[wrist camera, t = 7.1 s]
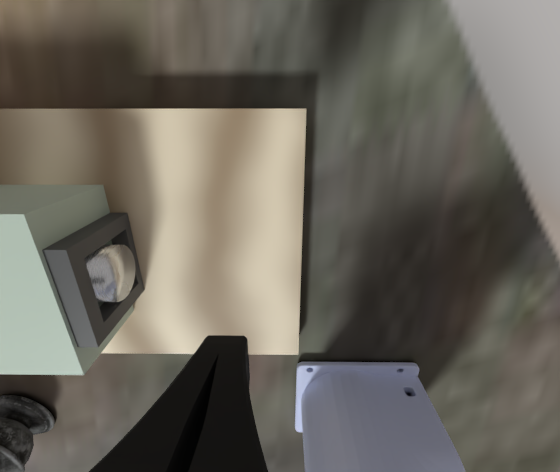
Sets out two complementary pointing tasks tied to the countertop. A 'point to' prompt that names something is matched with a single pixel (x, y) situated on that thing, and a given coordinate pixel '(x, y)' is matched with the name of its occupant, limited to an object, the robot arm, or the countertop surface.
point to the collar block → (57, 278)
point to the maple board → (186, 212)
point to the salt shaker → (20, 430)
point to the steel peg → (111, 272)
